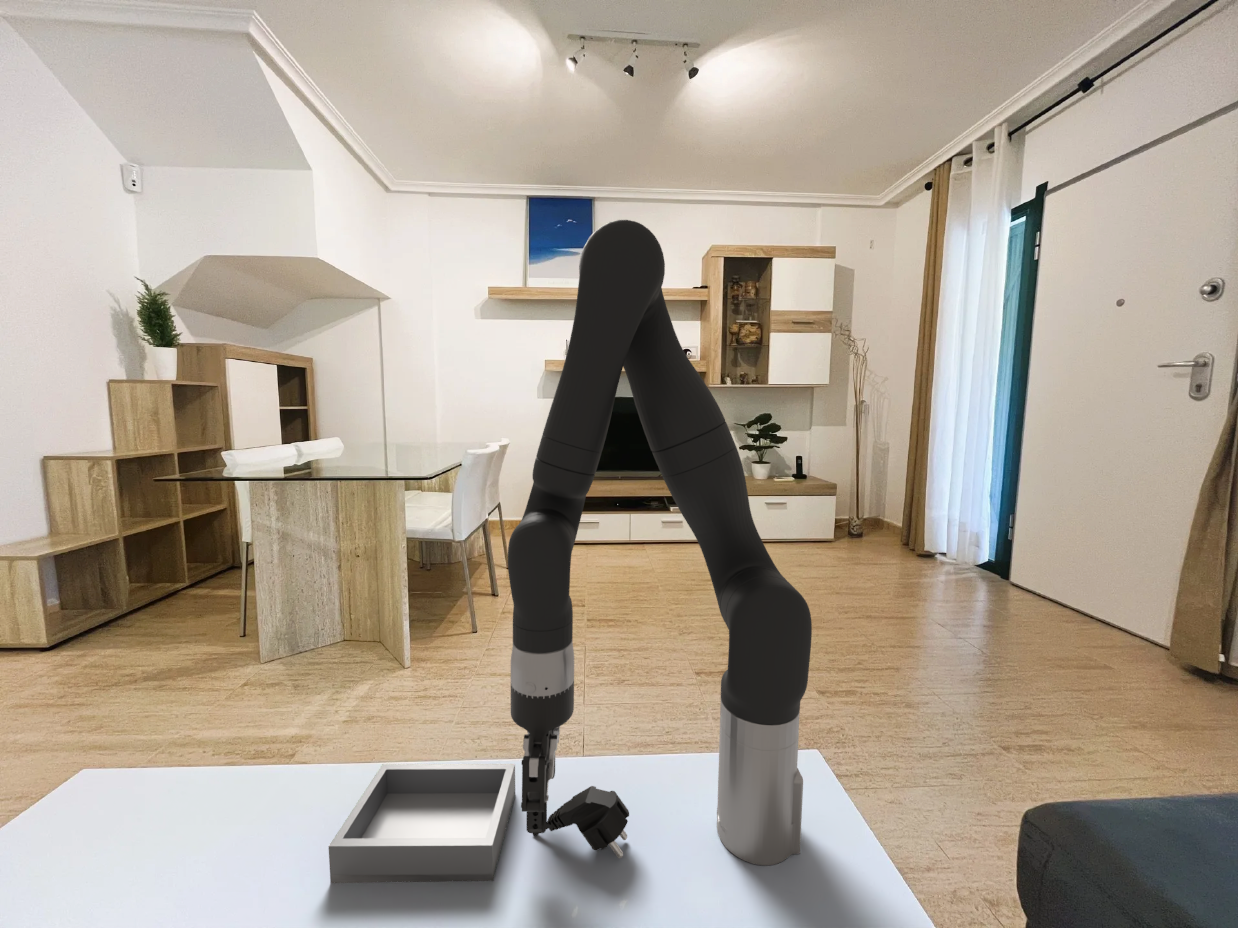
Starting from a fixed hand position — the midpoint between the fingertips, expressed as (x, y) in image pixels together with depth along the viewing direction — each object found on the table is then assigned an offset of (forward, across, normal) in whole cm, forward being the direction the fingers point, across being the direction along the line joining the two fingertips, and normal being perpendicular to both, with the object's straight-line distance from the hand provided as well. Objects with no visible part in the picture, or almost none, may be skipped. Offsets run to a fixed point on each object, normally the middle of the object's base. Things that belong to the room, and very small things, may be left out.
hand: (541, 801), depth 62 cm
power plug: (+7, 0, -1) cm, 7 cm away
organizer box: (+5, 0, +14) cm, 14 cm away
